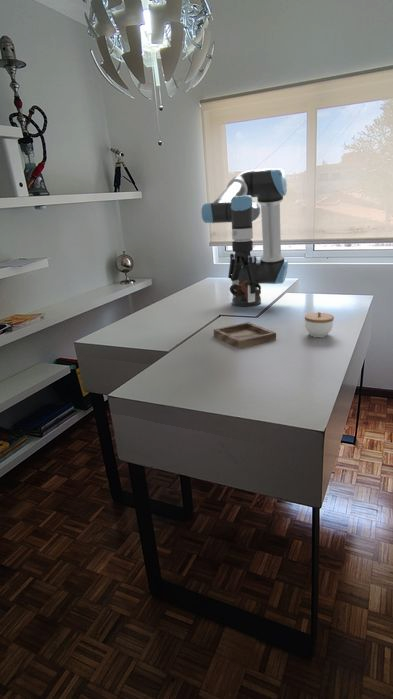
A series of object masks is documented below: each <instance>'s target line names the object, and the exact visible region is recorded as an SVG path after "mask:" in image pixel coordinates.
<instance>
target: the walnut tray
mask: <svg viewBox="0 0 393 699" xmlns="http://www.w3.org/2000/svg"><path fill="white" fill-rule="evenodd" d="M213 337H215V338H217V339H219V340H221V341H224V342H225V343H227V344H229V345H231V346H233V347H235V348H237V349H239V350H240V349H244V348H248V347H253V346H256V345H260V344H264V343H269V342H272V341H276V340H277V332H275V331H272V330H269V329H268V328H265V327H263V326H259V325H256V324H255V323H251V322H249V321H246V322H241V323H238V324H234V325H233V324H232V325H228V326H223V327H219V328H214V329H213Z"/></svg>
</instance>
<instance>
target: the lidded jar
mask: <svg viewBox="0 0 393 699" xmlns="http://www.w3.org/2000/svg"><path fill="white" fill-rule="evenodd" d="M334 319H335V316H334V315H333V314H331V313H326V312H322V311H317V312H310V313H307V314H306V315H305V316H304V321H305V322H304V324H305V325H304V326H305V329H306V331H307V333H308V334H309V335H310V336H311V337H312V336H313V338H317V337H321V338H325V336H326V335H329V334H330V332H331V331H332V329H333V325H334ZM326 337H327V336H326Z"/></svg>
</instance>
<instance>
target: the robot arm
mask: <svg viewBox="0 0 393 699" xmlns="http://www.w3.org/2000/svg"><path fill="white" fill-rule="evenodd" d="M287 185H288V184H287V177H286V175H285V172H284V170H283V169H282V168H275V167H272V168H271V167H270V168H262V169H250V170H246V171H243V172H241V173H239V174H237V175H236V176H234V177H233V178H232V179H230V180H229V182H228V183H227V186H226V188H225V189H224V191H222V193H220V195H219V196H218V197H217V198H216V199H215V200H214V201H213V202H206V203H204V204H203V205H202V207H201V219H202V221H203V222H204V223H205V224H221V223H222V224H223V223H225V224H226V223H231V238H232V243H231V244H232V246H231V248H232V252H234V253H230V254H229V257H230V261H229V270H228V279H230V280H231V286H232V285H234V284H236V285H241V284H242V283H243V282H244V281H246V280H248V282H249V284H248V287H247V289H248V301H247V300H246V299H247V296H240V297H239V298H236V296H235V295H233V294H232V298H231V304H232V306H237V307H253V305H254V306H257V304H258V305H260V304H262V296H261V295H260V296H258V297H256V298H255V291H256V290H258V287H255V285H256V284H259V285H261V284H262V285H263V284H265V285H266V284H267V285H268V284H269V285H277V284H278V285H281V284H283V283H284V282H285V281H286V277H287V274H288V266H289V262H288V260H286V259H285V255H284V254H282V248H281V247H282V245H281V244H282V242H281V241H282V240H281V235H282V234H281V208H280V207H281V202H282V201H283V200H284V196H286V195H287V187H288V186H287ZM253 198H257V199H256V200H257V202H256V201H254V200H253ZM260 215H261V232H262V233H261V234H262V253H263V254H262V255H261V256H260V260H259V259H258V257H257V256H256V255H254V256H253V255H251V252H252V251H253V248H254V245H253V238H254V237H253V236H254V235H253V234H254V232H253V222H254V221H256V220H257V219H258V218H259V217H260ZM251 281H252V282H251ZM233 290H234V291H235V292H236V289H233ZM259 303H260V304H259Z"/></svg>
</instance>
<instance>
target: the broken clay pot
mask: <svg viewBox="0 0 393 699" xmlns="http://www.w3.org/2000/svg"><path fill="white" fill-rule="evenodd" d="M251 282H252V281H251ZM248 284H249V282H248V280H246V281H244V282H243V283H242V284H241V285H236V284H234V285H232V284H231V285H230V287H229V291H230V293H231V295H232V296H233V295H235V296H236V298H239V297H240V296H247V299H246V300H247V301H248V289H247V287H248ZM255 287H258V290H256V291H255V298H256V297H258V296H260V297H261V294H262V290H261V289H262V287H261V284H256V285H255ZM233 289H236V292H235V291H234V290H233Z"/></svg>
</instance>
